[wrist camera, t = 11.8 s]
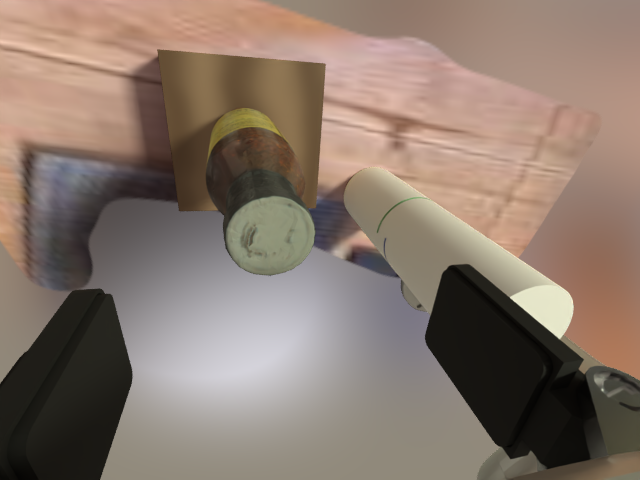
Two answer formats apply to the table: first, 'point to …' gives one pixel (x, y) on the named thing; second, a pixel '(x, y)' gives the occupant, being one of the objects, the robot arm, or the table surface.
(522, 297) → the cylindrical container
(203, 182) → the walnut plinth
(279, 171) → the sauce bottle
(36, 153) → the table surface
